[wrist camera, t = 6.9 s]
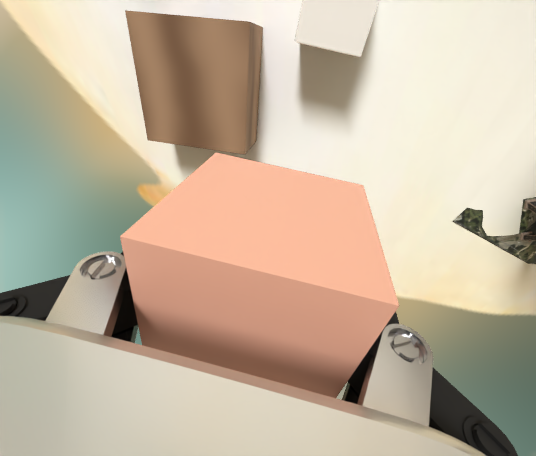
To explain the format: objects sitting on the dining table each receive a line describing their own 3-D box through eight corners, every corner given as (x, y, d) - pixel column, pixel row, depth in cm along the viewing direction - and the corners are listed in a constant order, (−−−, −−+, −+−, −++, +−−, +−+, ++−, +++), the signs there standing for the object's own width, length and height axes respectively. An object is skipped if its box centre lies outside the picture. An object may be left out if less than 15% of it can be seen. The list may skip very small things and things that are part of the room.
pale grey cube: (379, -20, 20) (392, -38, 16) (355, 56, 23) (360, 56, 19) (316, -33, 21) (313, -55, 16) (300, 43, 23) (294, 41, 19)
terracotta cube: (363, 185, 10) (399, 306, 5) (321, 289, 14) (319, 422, 9) (215, 152, 11) (119, 236, 6) (210, 261, 14) (148, 374, 9)
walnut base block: (263, 27, 23) (249, 21, 19) (256, 140, 29) (245, 154, 25) (159, 18, 24) (125, 10, 20) (172, 128, 30) (147, 140, 26)
